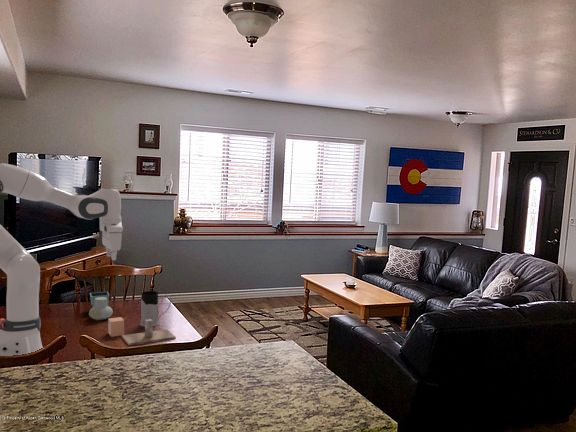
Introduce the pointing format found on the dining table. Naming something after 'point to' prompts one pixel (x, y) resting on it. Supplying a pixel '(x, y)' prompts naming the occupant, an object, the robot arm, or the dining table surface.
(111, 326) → the peach block
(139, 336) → the post stand
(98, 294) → the flower pot
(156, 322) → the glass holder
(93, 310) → the air freshener
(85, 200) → the robot arm
